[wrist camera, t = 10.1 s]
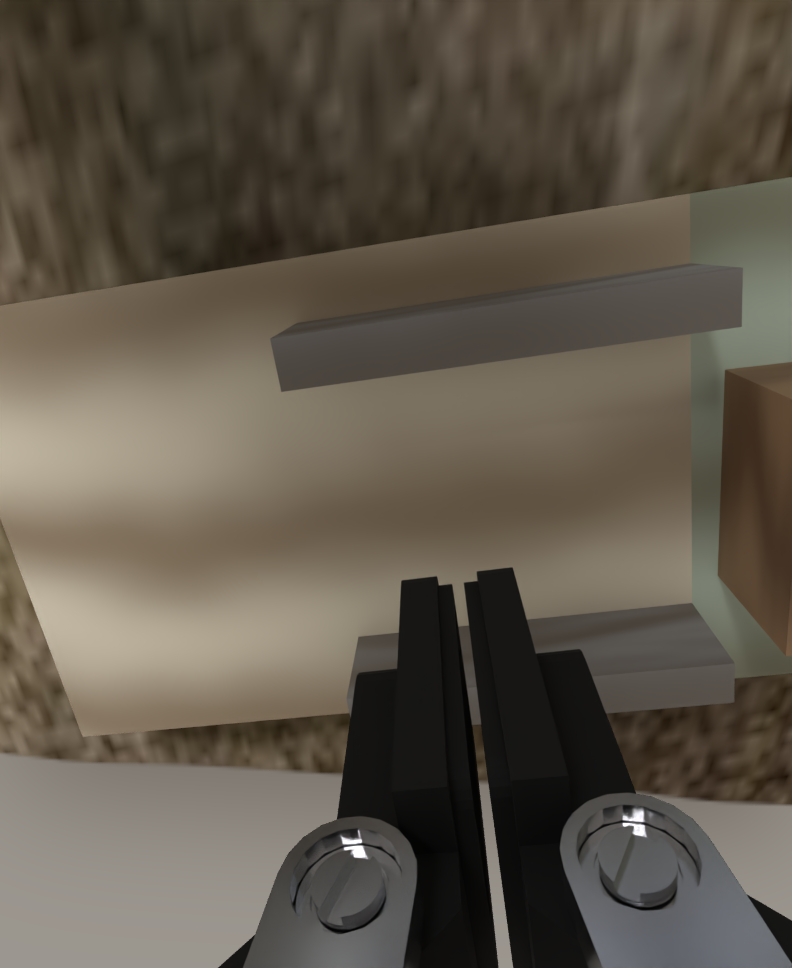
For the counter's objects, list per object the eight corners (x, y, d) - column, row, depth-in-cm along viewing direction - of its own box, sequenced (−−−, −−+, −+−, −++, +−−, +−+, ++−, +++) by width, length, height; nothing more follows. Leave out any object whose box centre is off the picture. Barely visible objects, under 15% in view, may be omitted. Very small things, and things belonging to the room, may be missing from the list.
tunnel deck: (-7, 307, 21) (-171, 331, 15) (1292, 96, 17) (1712, 25, 11) (122, 682, 25) (32, 807, 20) (1166, 580, 22) (1422, 698, 16)
